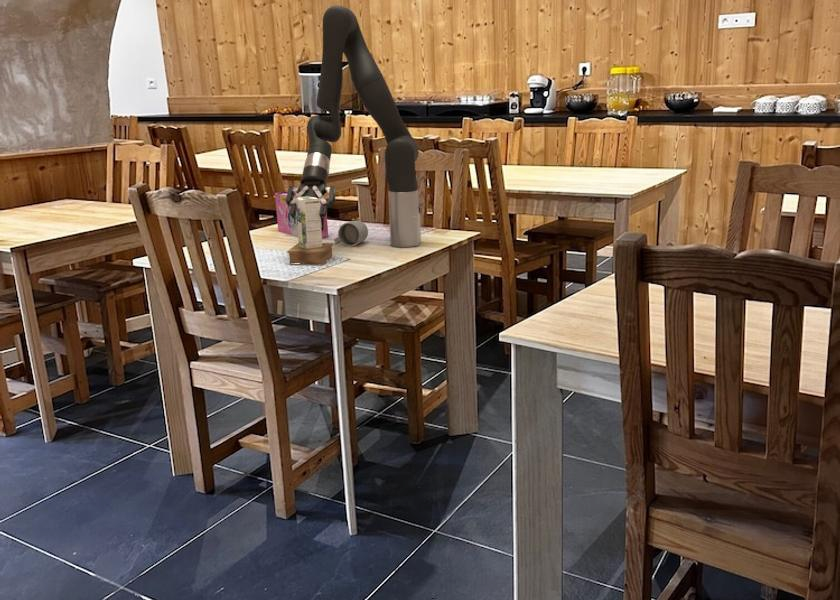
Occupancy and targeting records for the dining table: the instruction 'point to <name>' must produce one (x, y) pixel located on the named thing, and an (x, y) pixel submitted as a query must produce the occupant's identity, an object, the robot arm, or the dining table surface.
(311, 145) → the robot arm
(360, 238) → the ceramic mug
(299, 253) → the plinth
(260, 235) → the dining table surface
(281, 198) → the gum box
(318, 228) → the syrup box
